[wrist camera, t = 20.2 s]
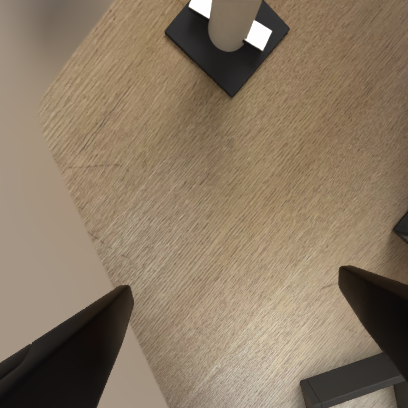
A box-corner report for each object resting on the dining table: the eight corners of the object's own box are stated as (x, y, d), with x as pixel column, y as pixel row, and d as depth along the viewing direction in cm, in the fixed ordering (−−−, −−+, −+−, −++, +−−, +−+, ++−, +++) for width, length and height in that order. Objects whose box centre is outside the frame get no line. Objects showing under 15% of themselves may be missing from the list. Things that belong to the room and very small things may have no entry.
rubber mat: (231, 98, 18) (232, 96, 18) (164, 33, 17) (164, 30, 17) (288, 31, 18) (290, 28, 18) (224, -39, 17) (224, -43, 17)
